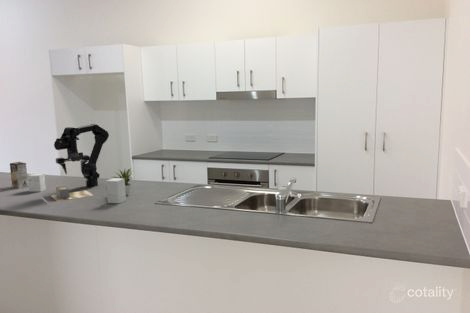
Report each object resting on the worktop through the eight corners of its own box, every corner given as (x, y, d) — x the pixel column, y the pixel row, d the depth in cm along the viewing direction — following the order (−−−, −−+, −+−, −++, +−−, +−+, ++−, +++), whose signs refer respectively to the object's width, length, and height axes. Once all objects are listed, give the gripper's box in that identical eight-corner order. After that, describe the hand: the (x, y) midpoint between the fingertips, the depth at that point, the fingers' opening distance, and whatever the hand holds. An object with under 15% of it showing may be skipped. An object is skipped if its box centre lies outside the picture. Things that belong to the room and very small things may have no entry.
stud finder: (65, 194, 229) (65, 186, 228) (69, 197, 222) (68, 188, 221) (56, 195, 226) (56, 187, 225) (60, 198, 219) (59, 190, 218)
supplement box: (126, 200, 218) (125, 178, 216) (118, 203, 211) (117, 181, 209) (115, 199, 220) (114, 177, 218) (107, 202, 213) (105, 180, 211)
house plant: (120, 191, 240) (119, 165, 238) (141, 191, 237) (140, 165, 235) (108, 196, 226) (107, 169, 224) (130, 197, 224) (129, 169, 221)
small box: (46, 189, 247) (44, 173, 246) (40, 191, 242) (39, 175, 240) (34, 189, 248) (32, 173, 246) (28, 191, 242) (27, 175, 241)
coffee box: (11, 187, 256) (9, 163, 254) (21, 185, 262) (18, 161, 259) (19, 188, 252) (16, 164, 249) (28, 186, 257) (26, 162, 254)
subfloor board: (85, 191, 239) (85, 190, 239) (93, 196, 227) (93, 195, 226) (50, 197, 228) (50, 195, 227) (57, 202, 215) (57, 200, 215)
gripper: (58, 150, 223) (61, 177, 226) (91, 147, 234) (93, 173, 237) (54, 148, 232) (56, 174, 235) (86, 146, 243) (88, 170, 246)
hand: (74, 173), depth 238 cm, fingers open, 9 cm apart
